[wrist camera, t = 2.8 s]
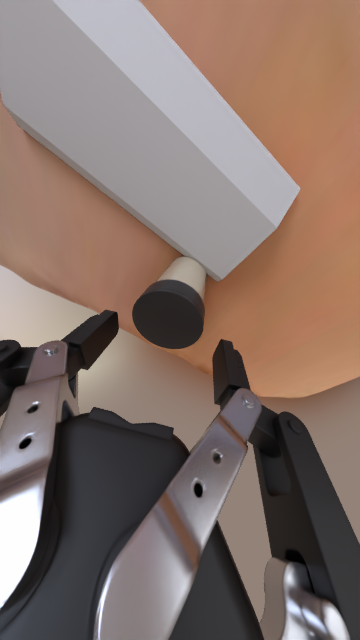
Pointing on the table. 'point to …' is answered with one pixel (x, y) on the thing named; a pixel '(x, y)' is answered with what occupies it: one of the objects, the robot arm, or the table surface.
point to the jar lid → (170, 314)
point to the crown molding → (141, 125)
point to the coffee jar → (187, 274)
